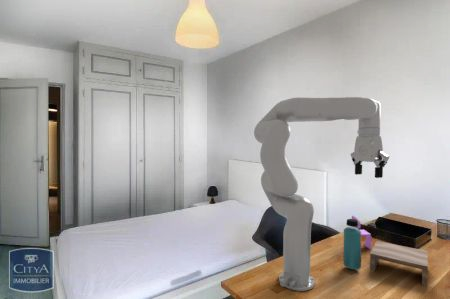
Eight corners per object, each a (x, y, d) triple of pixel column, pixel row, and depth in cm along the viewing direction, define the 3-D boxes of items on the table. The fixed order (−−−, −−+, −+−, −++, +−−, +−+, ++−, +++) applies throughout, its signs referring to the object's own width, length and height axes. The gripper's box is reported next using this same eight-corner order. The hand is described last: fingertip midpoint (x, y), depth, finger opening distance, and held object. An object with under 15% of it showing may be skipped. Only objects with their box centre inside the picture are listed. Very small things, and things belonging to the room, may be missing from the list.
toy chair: (373, 250, 124) (373, 218, 123) (354, 250, 124) (354, 218, 124) (364, 243, 132) (365, 213, 132) (346, 243, 133) (347, 213, 132)
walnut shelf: (427, 285, 94) (427, 266, 94) (369, 270, 105) (370, 253, 105) (427, 268, 107) (427, 251, 107) (376, 256, 118) (376, 240, 118)
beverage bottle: (363, 274, 103) (364, 222, 102) (344, 272, 104) (345, 221, 103) (358, 266, 109) (359, 217, 108) (340, 264, 110) (341, 216, 109)
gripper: (344, 133, 112) (344, 173, 113) (380, 132, 96) (379, 179, 97) (359, 133, 115) (358, 172, 115) (396, 132, 98) (395, 178, 99)
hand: (368, 175), depth 106 cm, fingers open, 9 cm apart
